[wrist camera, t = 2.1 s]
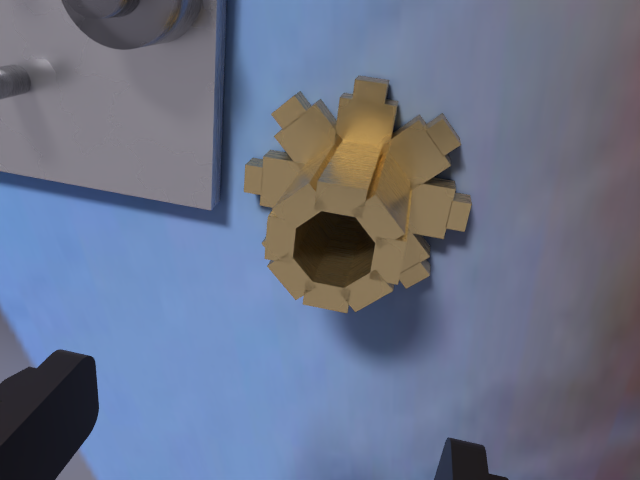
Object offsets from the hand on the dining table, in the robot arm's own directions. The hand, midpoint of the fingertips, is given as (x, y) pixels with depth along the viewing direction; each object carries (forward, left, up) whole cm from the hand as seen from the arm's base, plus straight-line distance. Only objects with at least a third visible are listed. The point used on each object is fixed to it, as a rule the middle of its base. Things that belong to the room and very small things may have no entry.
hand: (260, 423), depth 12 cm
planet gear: (0, 0, -16) cm, 16 cm away
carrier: (+14, -5, -16) cm, 22 cm away
